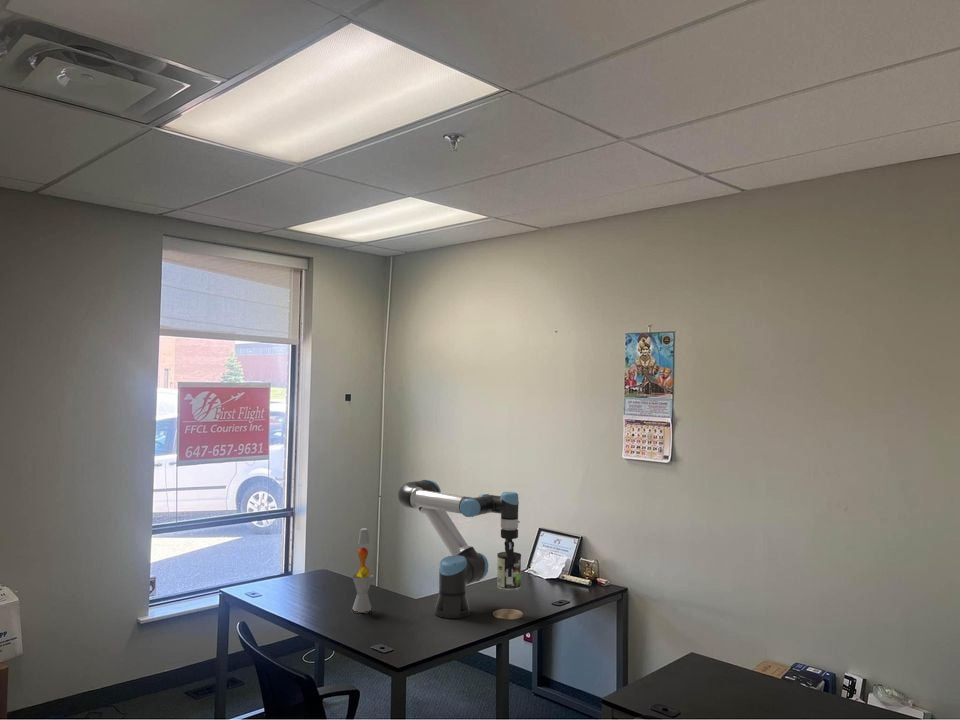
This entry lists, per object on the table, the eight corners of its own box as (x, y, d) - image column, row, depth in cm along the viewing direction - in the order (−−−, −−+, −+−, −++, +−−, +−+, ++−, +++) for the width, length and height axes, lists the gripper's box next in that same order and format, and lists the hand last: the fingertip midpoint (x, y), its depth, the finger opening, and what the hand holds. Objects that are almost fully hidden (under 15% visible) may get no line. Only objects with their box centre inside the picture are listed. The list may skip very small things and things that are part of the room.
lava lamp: (347, 610, 301) (349, 528, 303) (364, 606, 308) (366, 526, 309) (359, 615, 295) (361, 531, 297) (376, 611, 301) (378, 529, 303)
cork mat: (493, 619, 293) (493, 617, 293) (492, 610, 306) (492, 608, 306) (524, 619, 293) (524, 618, 293) (521, 610, 306) (521, 608, 306)
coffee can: (524, 586, 302) (525, 553, 303) (514, 591, 293) (515, 557, 294) (503, 582, 307) (503, 550, 308) (492, 588, 298) (493, 554, 299)
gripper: (520, 533, 290) (519, 588, 289) (516, 523, 313) (515, 574, 311) (502, 533, 290) (501, 587, 289) (499, 523, 312) (498, 574, 311)
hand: (508, 580), depth 300 cm, fingers closed on coffee can, 10 cm apart
